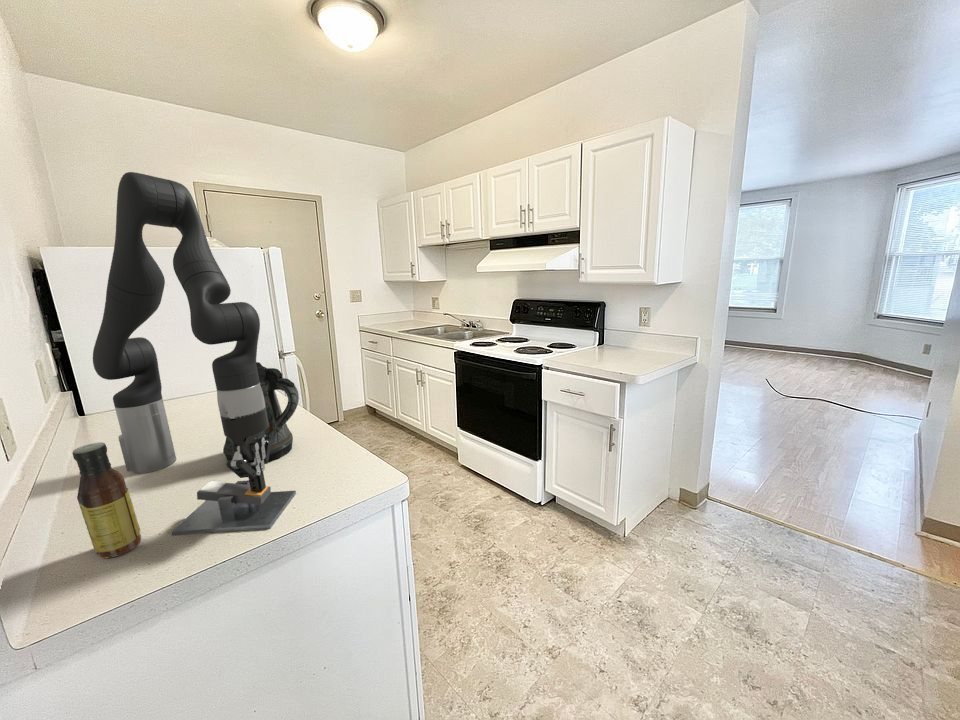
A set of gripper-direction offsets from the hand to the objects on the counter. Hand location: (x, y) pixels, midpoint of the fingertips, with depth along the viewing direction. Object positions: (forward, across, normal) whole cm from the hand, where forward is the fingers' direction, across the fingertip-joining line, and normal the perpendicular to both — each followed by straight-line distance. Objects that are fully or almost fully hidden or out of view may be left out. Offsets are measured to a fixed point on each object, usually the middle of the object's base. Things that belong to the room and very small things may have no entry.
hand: (258, 490), depth 79 cm
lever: (0, 0, -5) cm, 5 cm away
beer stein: (+5, -29, -13) cm, 32 cm away
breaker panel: (+5, 0, -5) cm, 7 cm away
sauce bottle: (+5, +9, -21) cm, 23 cm away
